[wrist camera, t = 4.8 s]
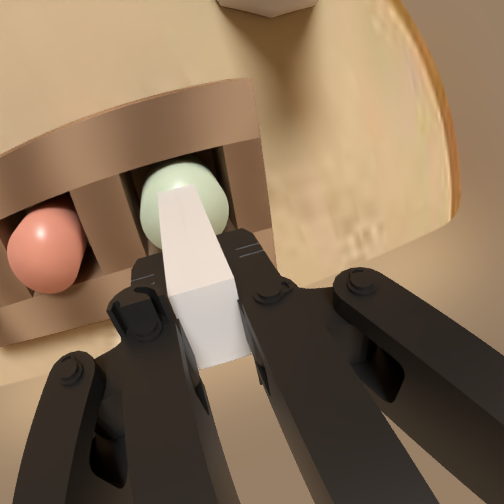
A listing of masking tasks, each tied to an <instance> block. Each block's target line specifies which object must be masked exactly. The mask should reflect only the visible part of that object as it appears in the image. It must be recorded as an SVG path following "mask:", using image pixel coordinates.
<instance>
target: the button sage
mask: <svg viewBox="0 0 504 504" xmlns="http://www.w3.org/2000/svg"><path fill="white" fill-rule="evenodd" d="M190 184H194V185H195V188H196V190H197V193H198V195H199V197H200V200H201V202H202V204H203V207H204V209H205V212H206V214H207V216H208V219H209V221H210V223H211V226H212V228H213V230H214V233H215V235H218V234H222V232H223V230H224V228H225V226H226V224H227V220H228V215H229V206H228V201H227V197H226V195H225V193H224V191H223V190H222V188H221V186H220V185H219V183H218V182H217V180H216V179H215V177H214V176H213V174H212V172H211V171H210V169H209V168H208V166H207V165H206V164H205V163H204V162H203V161H202V160H200V159H199V158H197V157H195V156H193V155H190V154H185V155H181V156H178V157H174V158H170V159H167V160H163V161H159V162H156V163H154V164H152V166H151V167H150V168H149V169H148V171H147V173H146V175H145V177H144V180H143V184H142V195H141V209H140V220H141V225H142V228H143V231H144V233H145V234H146V236H147V238H148V239H149V240H150V241H151V242H152V243H153V244H154V245H155V246H157V247H158V248H160V249H162V242H161V231H160V220H159V208H158V193H161V192H165V191H168V190H172V189H175V188H179V187H183V186H186V185H190Z"/></svg>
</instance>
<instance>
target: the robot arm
mask: <svg viewBox="0 0 504 504" xmlns="http://www.w3.org/2000/svg"><path fill="white" fill-rule="evenodd" d="M158 208H159V220H160V231H161V242H162V252H160V253H156V254H153V255H149V256H146V257H143V258H139V259H137V261H136V263H135V264H134V266H133V268H132V269H131V286H130V287H127V288H125V289H123V290H122V291H120V292H119V293H118V294H116V295H115V296H114V297H113V298H112V300H111V301H110V302H109V304H108V307H107V310H106V312H107V314H108V316H109V317H110V319H111V321H112V323H113V324H114V326H115V328H116V330H117V331H118V333H119V335H120V336H121V342H120V343H119V344H118V345H117V346H116V347H115V348H113V349H112V350H110V351H108V352H107V353H105V354H103V355H101V356H99V357H97V358H96V359H94V358H93V357H92V356H91V355H89V354H88V353H87V352H83V351H75V352H70V353H68V354H66V355H65V356H63V357H61V358H60V359H59V360H58V361H57V362H56V363H55V364H54V366H53V368H52V369H51V371H50V373H49V376H48V378H47V381H46V384H45V387H44V389H43V392H42V395H41V398H40V401H39V404H38V407H37V410H36V413H35V416H34V419H33V422H32V425H31V429H30V432H29V435H28V439H27V442H26V446H25V450H24V453H23V457H22V461H21V465H20V470H19V474H18V478H17V483H16V487H15V493H14V498H13V503H12V504H240V501H239V499H238V495H237V493H236V490H235V487H234V484H233V481H232V478H231V475H230V472H229V469H228V465H227V462H226V459H225V456H224V453H223V450H222V446H221V443H220V440H219V437H218V433H217V430H216V426H215V423H214V420H213V416H212V412H211V409H210V405H209V401H208V397H207V394H206V390H205V386H204V384H203V382H202V380H201V378H200V376H199V372H198V368H199V370H202V369H205V368H209V367H212V366H215V365H219V364H222V363H226V362H229V361H232V360H235V359H239V358H242V357H245V356H248V355H251V352H252V354H253V356H254V360H255V364H256V368H257V373H258V377H259V381H260V385H262V384H263V386H264V388H265V391H266V393H267V396H268V398H269V400H270V403H271V405H272V408H273V410H274V412H275V415H276V417H277V419H278V422H279V424H280V426H281V429H282V431H283V433H284V436H285V438H286V440H287V443H288V445H289V447H290V449H291V452H292V454H293V456H294V458H295V461H296V463H297V465H298V467H299V469H300V472H301V474H302V476H303V478H304V481H305V483H306V485H307V487H308V489H309V492H310V494H311V496H312V498H313V500H314V502H315V504H439V502H438V501H437V499H436V497H435V496H434V494H433V492H432V491H431V489H430V488H429V486H428V484H427V483H426V481H425V480H424V478H423V476H422V475H421V473H420V472H419V470H418V468H417V467H416V465H415V464H414V462H413V461H412V459H411V457H410V456H409V454H408V453H407V451H406V449H405V448H404V446H403V445H402V443H401V442H400V440H399V439H398V437H397V435H396V434H395V432H394V431H393V430H392V428H391V426H390V425H389V423H388V421H387V420H386V418H385V417H384V415H383V414H382V412H383V413H384V414H385V415H386V416H388V417H389V418H390V419H391V420H392V421H393V422H394V423H395V424H396V425H397V426H399V427H400V428H401V429H402V430H403V431H404V432H405V433H406V434H408V436H410V437H411V438H412V439H413V440H414V441H415V442H416V443H417V444H418V445H420V446H421V447H422V448H423V449H424V450H425V451H426V452H428V453H429V454H430V455H431V456H432V457H433V458H435V460H437V461H438V462H439V463H440V464H441V465H442V466H444V467H445V468H446V469H447V470H448V471H449V472H450V473H452V474H453V475H454V476H455V477H456V478H457V479H458V480H460V481H461V482H462V483H463V484H464V485H465V486H467V487H468V488H469V489H470V490H471V491H472V492H474V493H475V494H476V495H477V496H478V497H479V498H481V499H482V500H483V501H484V502H485V503H487V504H504V356H503V355H502V354H500V353H499V352H498V351H496V350H495V349H493V348H492V347H491V346H489V345H488V344H486V343H485V342H483V341H482V340H481V339H479V338H478V337H477V336H475V335H474V334H472V333H471V332H469V331H468V330H466V329H465V328H464V327H462V326H461V325H459V324H458V323H456V322H455V321H453V320H452V319H450V318H449V317H448V316H446V315H445V314H443V313H442V312H440V311H438V310H437V309H435V308H434V307H433V306H431V305H430V304H428V303H427V302H425V301H424V300H422V299H420V298H419V297H417V296H416V295H414V294H413V293H411V292H410V291H408V290H407V289H405V288H404V287H402V286H400V285H399V284H397V283H395V282H394V281H393V280H391V279H389V278H388V277H386V276H385V275H383V274H381V273H380V272H378V271H375V270H373V269H370V268H363V267H358V268H350V269H347V270H345V271H342V272H341V273H340V274H339V275H338V276H336V278H335V280H334V283H333V287H327V288H316V289H305V288H299V287H298V286H297V285H296V284H295V283H294V282H293V281H291V280H290V279H287V278H285V277H282V276H281V275H280V274H279V272H278V271H277V269H276V268H275V266H274V265H273V263H272V262H271V260H270V259H269V257H268V255H267V254H266V252H265V251H264V250H263V248H262V246H261V245H260V243H259V242H258V240H257V239H256V237H255V236H254V234H253V233H251V232H249V231H247V230H245V229H243V228H240V229H236V230H233V231H229V232H225V233H222V234H218V235H215V233H214V230H213V228H212V226H211V223H210V221H209V219H208V216H207V214H206V212H205V209H204V207H203V204H202V202H201V200H200V197H199V195H198V193H197V190H196V188H195V185H194V184H190V185H186V186H183V187H179V188H175V189H172V190H168V191H165V192H161V193H158ZM250 349H251V350H250ZM197 366H198V367H197ZM380 410H381V411H382V412H381V411H380Z"/></svg>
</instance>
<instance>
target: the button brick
mask: <svg viewBox="0 0 504 504" xmlns="http://www.w3.org/2000/svg"><path fill="white" fill-rule="evenodd" d="M87 242H88V238H87V235H86V233H85V231H84V228H83V226H82V223H81V221H80V218H79V216H78V213H77V211H76V208H75V205H74V203H73V200H72V197H70V196H67V195H64V194H60V195H57V196H55V197H52V198H50V199H47V200H45V201H42V202H40V203H37V204H35V205H34V206H33V207H32V209H31V210H30V211H29V212H28V214H27V215H26V216H25V217H24V219H23V220H22V221H21V223H20V224H19V225H18V227H17V228H16V229H15V231H14V232H13V234H12V235H11V237H10V239H9V242H8V246H7V257H8V262H9V265H10V267H11V269H12V271H13V273H14V274H15V276H16V277H17V278H18V279H19V280H20V282H22V283H23V284H24V285H25V286H27V287H28V288H30V289H32V290H34V291H37V292H40V293H45V294H53V293H58V292H61V291H64V290H65V289H67V288H68V287H70V286H71V285H72V284H73V282H74V281H75V279H76V277H77V275H78V271H79V268H80V264H81V261H82V258H83V255H84V251H85V248H86V245H87Z"/></svg>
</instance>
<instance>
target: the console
mask: <svg viewBox="0 0 504 504" xmlns="http://www.w3.org/2000/svg"><path fill="white" fill-rule="evenodd" d="M185 154H190V155H193V156H195V157H197V158H199V159H200V160H202V161H203V162H204V163H205V164H206V165H207V166H208V168H209V169H210V171H211V172H212V174H213V176H214V177H215V179H216V180H217V182H218V183H219V185H220V186H221V188H222V190H223V191H224V193H225V195H226V197H227V201H228V206H229V215H228V220H227V224H226V226H225V228H224V230H223V232H222V233H225V232H229V231H233V230H236V229H240V228H243V229H245V230H247V231H249V232H251V233H253V234H254V236H255V237H256V239H257V240H258V242H259V243H260V245H261V246H262V248H263V250H264V251H265V252H266V254H267V255H268V257H269V259H270V260H271V262H272V263H273V265H274V266H275V268H276V269H277V263H276V255H275V247H274V238H273V230H272V222H271V214H270V206H269V199H268V191H267V183H266V176H265V168H264V161H263V154H262V146H261V139H260V132H259V125H258V118H257V111H256V104H255V98H254V91H253V84H252V79H228V80H222V81H217V82H211V83H206V84H201V85H196V86H192V87H187V88H183V89H178V90H174V91H170V92H166V93H162V94H158V95H154V96H150V97H147V98H143V99H140V100H136V101H133V102H129V103H126V104H123V105H120V106H117V107H113V108H110V109H107V110H104V111H101V112H98V113H96V114H93V115H90V116H87V117H85V118H82V119H79V120H77V121H74V122H71V123H69V124H66V125H64V126H61V127H59V128H56V129H54V130H52V131H49V132H47V133H45V134H42V135H40V136H38V137H36V138H34V139H31V140H29V141H27V142H25V143H23V144H21V145H19V146H17V147H15V148H13V149H11V150H9V151H7V152H5V153H3V154H1V155H0V347H2V346H6V345H10V344H14V343H18V342H22V341H26V340H30V339H34V338H38V337H42V336H46V335H50V334H54V333H58V332H62V331H66V330H70V329H73V328H77V327H81V326H85V325H89V324H92V323H96V322H100V321H104V320H107V319H110V317H109V316H108V314H107V312H106V310H107V307H108V304H109V302H110V301H111V300H112V298H113V297H114V296H115V295H116V294H118V293H119V292H120V291H122V290H123V289H125V288H127V287H130V286H131V269H132V268H133V266H134V264H135V263H136V261H137V259H139V258H143V257H146V256H149V255H153V254H156V253H160V252H162V249H160V248H158V247H157V246H155V245H154V244H153V243H152V242H151V241H150V240H149V239H148V238H147V236H146V234H145V233H144V231H143V228H142V225H141V220H140V209H141V195H142V184H143V180H144V177H145V175H146V173H147V171H148V169H149V168H150V167H151V166H152V164H154V163H156V162H159V161H163V160H167V159H170V158H174V157H178V156H181V155H185ZM60 194H64V195H67V196H70V197H72V200H73V203H74V205H75V208H76V211H77V213H78V216H79V218H80V221H81V223H82V226H83V228H84V231H85V233H86V235H87V238H88V242H87V245H86V248H85V251H84V255H83V258H82V261H81V264H80V268H79V271H78V275H77V277H76V279H75V281H74V282H73V284H72V285H71V286H70V287H68V288H67V289H65V290H64V291H61V292H58V293H53V294H45V293H40V292H37V291H34V290H32V289H30V288H28V287H27V286H25V285H24V284H23V283H22V282H20V280H19V279H18V278H17V277H16V276H15V274H14V273H13V271H12V269H11V267H10V265H9V262H8V257H7V246H8V242H9V239H10V237H11V235H12V234H13V232H14V231H15V229H16V228H17V227H18V225H19V224H20V223H21V221H22V220H23V219H24V217H25V216H26V215H27V214H28V212H29V211H30V210H31V209H32V207H33V206H34V205H35V204H37V203H40V202H42V201H45V200H47V199H50V198H52V197H55V196H57V195H60Z"/></svg>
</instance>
